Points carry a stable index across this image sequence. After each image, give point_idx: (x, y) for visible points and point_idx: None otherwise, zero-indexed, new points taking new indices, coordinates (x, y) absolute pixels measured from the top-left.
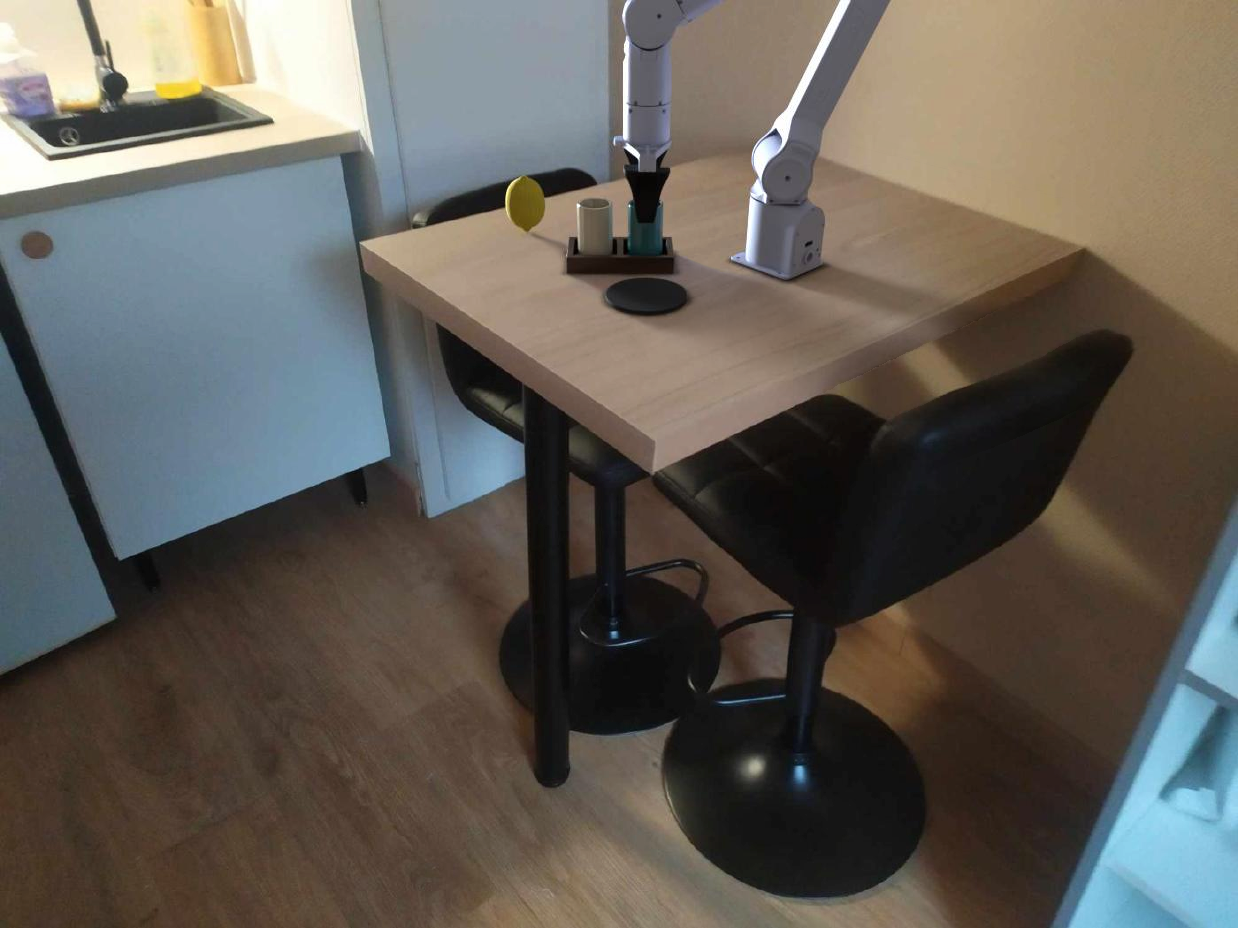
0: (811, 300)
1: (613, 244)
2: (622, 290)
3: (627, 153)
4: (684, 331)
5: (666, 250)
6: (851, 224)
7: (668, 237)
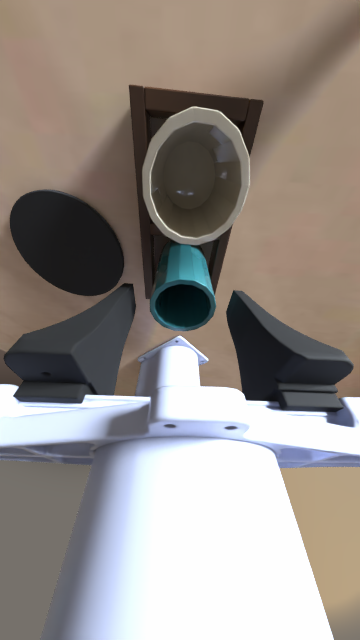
0: None
1: None
2: (68, 221)
3: (287, 353)
4: (4, 282)
5: None
6: None
7: None
